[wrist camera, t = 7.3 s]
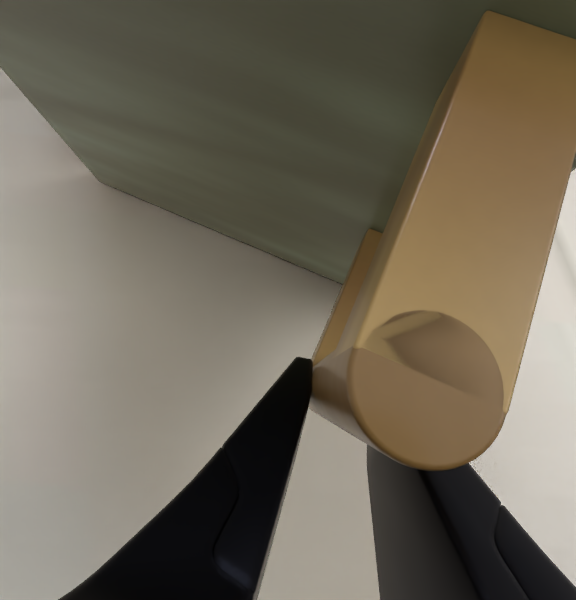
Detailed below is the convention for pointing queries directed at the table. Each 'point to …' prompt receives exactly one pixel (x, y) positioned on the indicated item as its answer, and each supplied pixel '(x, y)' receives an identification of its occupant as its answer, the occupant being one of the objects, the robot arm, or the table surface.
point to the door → (342, 172)
